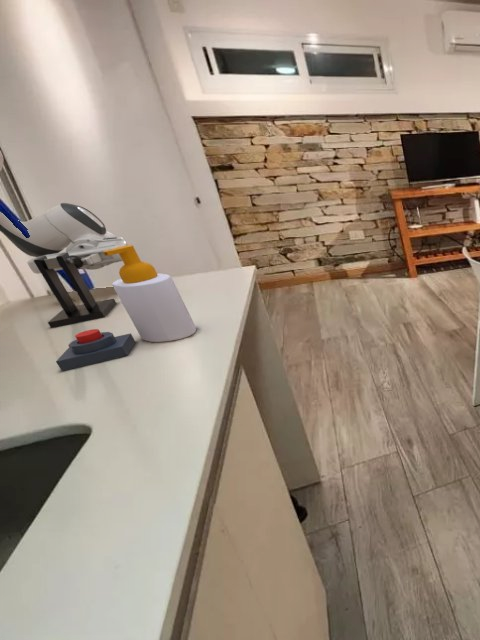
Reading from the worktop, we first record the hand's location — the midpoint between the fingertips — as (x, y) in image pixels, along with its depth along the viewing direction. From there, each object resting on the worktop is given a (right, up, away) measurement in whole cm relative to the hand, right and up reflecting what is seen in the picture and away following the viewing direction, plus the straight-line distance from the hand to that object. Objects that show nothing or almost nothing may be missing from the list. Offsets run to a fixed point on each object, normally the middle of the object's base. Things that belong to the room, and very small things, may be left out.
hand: (73, 263), depth 125 cm
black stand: (+6, -14, -3) cm, 15 cm away
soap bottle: (+42, -19, -18) cm, 50 cm away
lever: (+2, -2, -3) cm, 5 cm away
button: (+34, -20, -28) cm, 49 cm away
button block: (+35, -23, -26) cm, 49 cm away
